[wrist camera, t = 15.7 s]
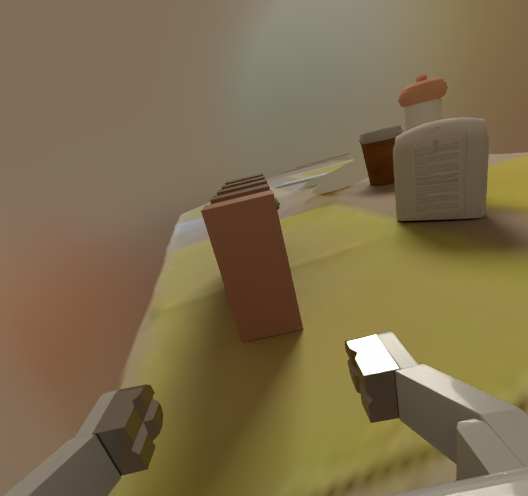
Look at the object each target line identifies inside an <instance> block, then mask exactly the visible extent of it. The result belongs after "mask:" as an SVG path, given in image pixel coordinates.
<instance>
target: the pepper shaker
mask: <svg viewBox="0 0 528 496" xmlns="http://www.w3.org/2000/svg"><path fill="white" fill-rule="evenodd" d="M447 88H448V87H447V84H446V82H445V81H444V80H443V79H440V78H431V79H427V76H426V75H420V76H418V77H417V78H416V83H414V84H411V85H408V86H407V87H406V88H405V89H403V90H402V91H401V93H400V95H399V100H398V101H399V103H400V105H401V106H402V107H405V109H404V113H405V132H406V131H408V130H410V129H412V128H415V127H417V126H420V125H423V124H426V123H429V122H433V121H437V120H442V102H441V101H442V99H441V97H442V96H444V95H445V93H446V91H447Z"/></svg>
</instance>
